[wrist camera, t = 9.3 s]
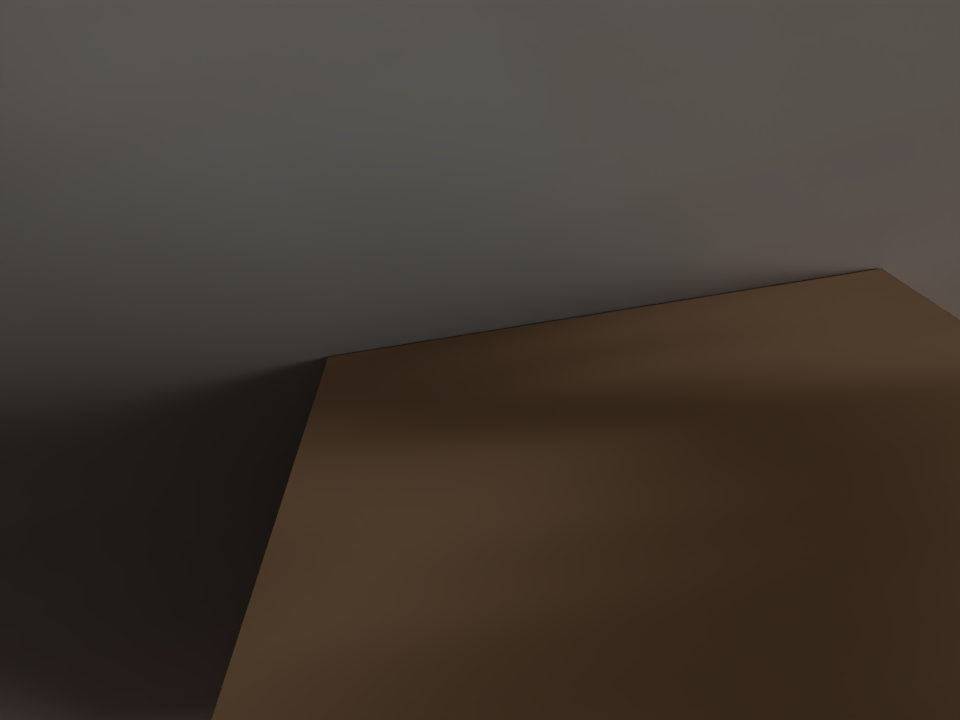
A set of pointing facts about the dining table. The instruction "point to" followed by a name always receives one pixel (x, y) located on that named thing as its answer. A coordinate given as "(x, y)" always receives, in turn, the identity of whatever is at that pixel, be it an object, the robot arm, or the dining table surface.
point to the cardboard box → (626, 520)
